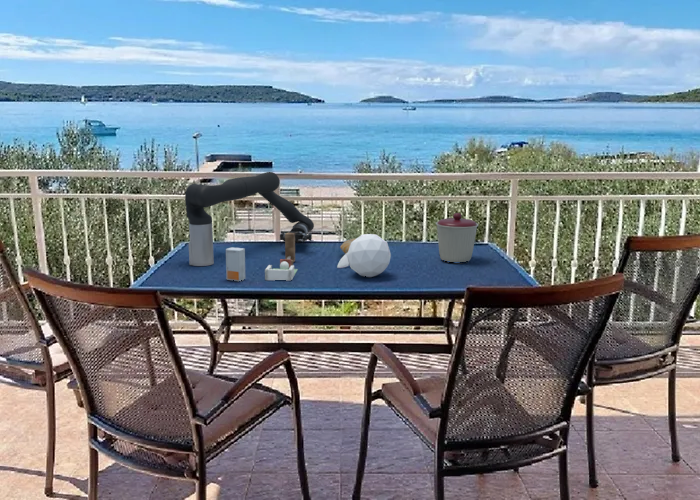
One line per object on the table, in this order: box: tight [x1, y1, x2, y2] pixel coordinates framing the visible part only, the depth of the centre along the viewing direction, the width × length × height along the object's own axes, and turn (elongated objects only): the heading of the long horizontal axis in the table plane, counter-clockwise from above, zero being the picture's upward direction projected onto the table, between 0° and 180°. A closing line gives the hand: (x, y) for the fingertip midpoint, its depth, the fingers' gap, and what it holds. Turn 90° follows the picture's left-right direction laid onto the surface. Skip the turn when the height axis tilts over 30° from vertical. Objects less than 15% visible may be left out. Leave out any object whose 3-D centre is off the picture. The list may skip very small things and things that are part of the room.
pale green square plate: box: [272, 267, 299, 276], centre depth 237 cm, size 10×9×1 cm
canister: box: [435, 212, 479, 263], centre depth 257 cm, size 18×18×21 cm
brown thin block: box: [279, 232, 296, 269], centre depth 248 cm, size 4×15×12 cm, turn 177°
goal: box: [264, 264, 295, 282], centre depth 228 cm, size 10×8×4 cm
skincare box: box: [225, 247, 246, 282], centre depth 224 cm, size 6×4×12 cm
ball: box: [279, 261, 289, 270], centre depth 239 cm, size 4×4×4 cm
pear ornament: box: [336, 233, 392, 278], centre depth 237 cm, size 16×22×28 cm
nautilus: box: [339, 237, 358, 254], centre depth 267 cm, size 8×22×15 cm
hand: (293, 239), depth 265 cm, fingers open, 8 cm apart
